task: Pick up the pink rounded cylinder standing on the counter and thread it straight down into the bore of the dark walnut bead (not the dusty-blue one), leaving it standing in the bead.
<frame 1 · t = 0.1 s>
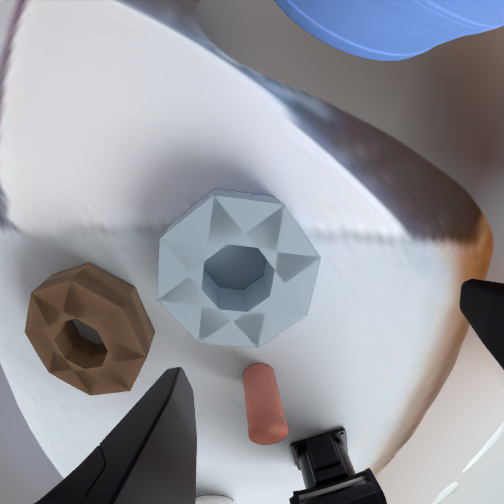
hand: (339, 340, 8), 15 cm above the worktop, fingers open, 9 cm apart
blue bead: (235, 260, 23), on the worktop
lidded jar: (213, 501, 34), on the worktop
walnut bead: (94, 322, 23), on the worktop
pink rounded cylinder: (258, 375, 26), on the worktop
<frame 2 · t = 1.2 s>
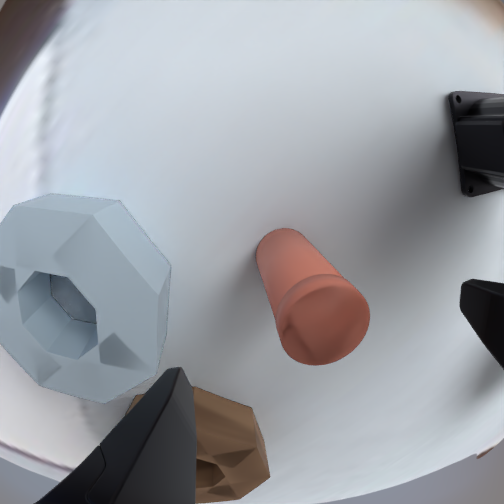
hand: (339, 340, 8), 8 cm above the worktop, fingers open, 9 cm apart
blue bead: (82, 287, 15), on the worktop
walnut bead: (191, 436, 19), on the worktop
pink rounded cylinder: (283, 255, 16), on the worktop
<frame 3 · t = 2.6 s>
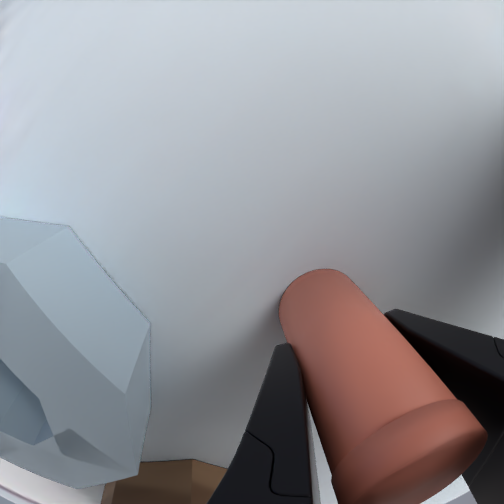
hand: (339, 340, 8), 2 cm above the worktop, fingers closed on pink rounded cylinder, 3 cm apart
blue bead: (35, 343, 10), on the worktop
walnut bead: (190, 500, 14), on the worktop
pink rounded cylinder: (319, 307, 10), on the worktop, touching gripper
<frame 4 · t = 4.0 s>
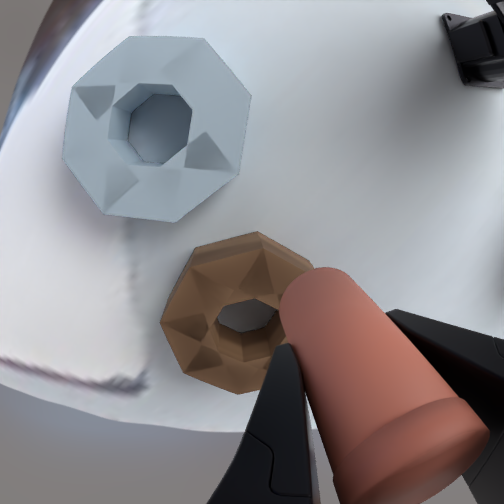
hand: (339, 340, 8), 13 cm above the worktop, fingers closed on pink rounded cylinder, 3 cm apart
blue bead: (162, 128, 17), on the worktop
walnut bead: (245, 305, 22), on the worktop
pink rounded cylinder: (320, 306, 10), point 11 cm above the worktop, touching gripper
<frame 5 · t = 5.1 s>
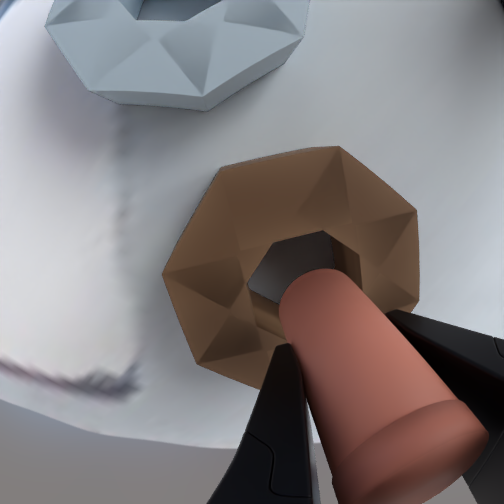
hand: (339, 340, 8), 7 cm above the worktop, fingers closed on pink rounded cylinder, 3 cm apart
blue bead: (184, 10, 11), on the worktop
walnut bead: (289, 260, 15), on the worktop
pink rounded cylinder: (319, 307, 10), point 5 cm above the worktop, touching gripper
when the fingers open (4 cm above the worktop, at t = 5.9 s): pink rounded cylinder drops 2 cm, resting in walnut bead.
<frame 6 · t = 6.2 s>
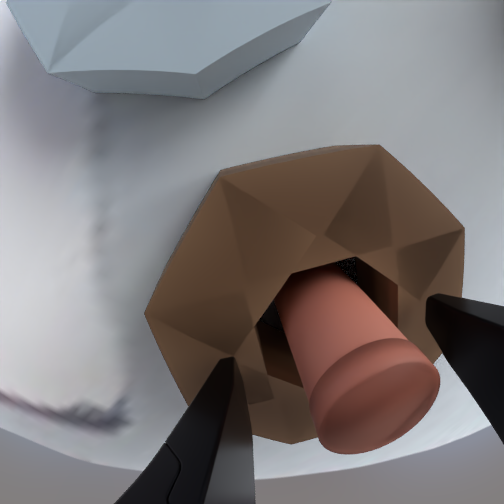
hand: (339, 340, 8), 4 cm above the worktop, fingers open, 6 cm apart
walnut bead: (305, 285, 12), on the worktop
pink rounded cylinder: (305, 283, 12), resting in walnut bead
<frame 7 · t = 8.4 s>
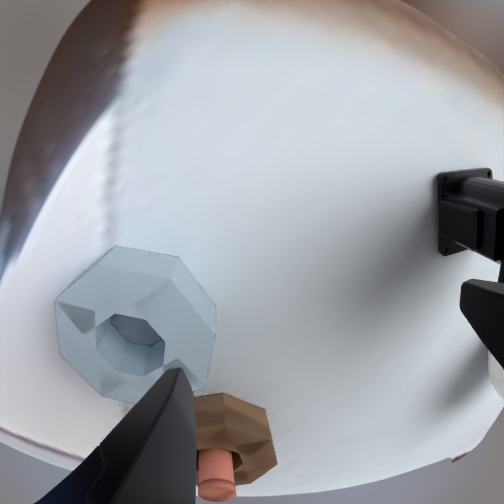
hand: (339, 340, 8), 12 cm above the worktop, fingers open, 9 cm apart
blue bead: (140, 318, 20), on the worktop
lidded jar: (502, 337, 26), on the worktop
walnut bead: (214, 432, 24), on the worktop
pink rounded cylinder: (214, 432, 24), resting in walnut bead
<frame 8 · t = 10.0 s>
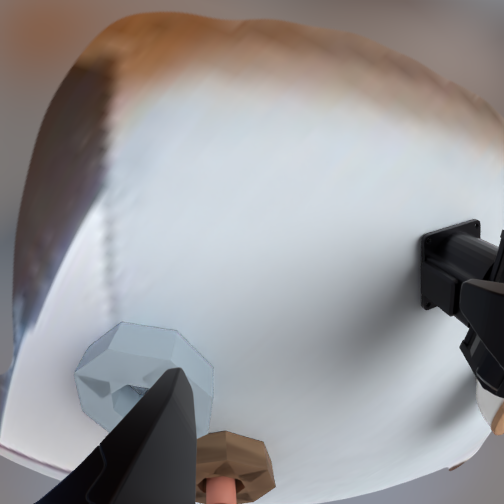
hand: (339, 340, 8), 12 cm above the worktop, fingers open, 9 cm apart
blue bead: (149, 377, 22), on the worktop
lidded jar: (492, 364, 27), on the worktop
walnut bead: (220, 460, 26), on the worktop
pink rounded cylinder: (220, 460, 26), resting in walnut bead
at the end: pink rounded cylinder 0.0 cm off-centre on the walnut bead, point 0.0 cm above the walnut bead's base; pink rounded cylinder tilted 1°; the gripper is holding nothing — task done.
